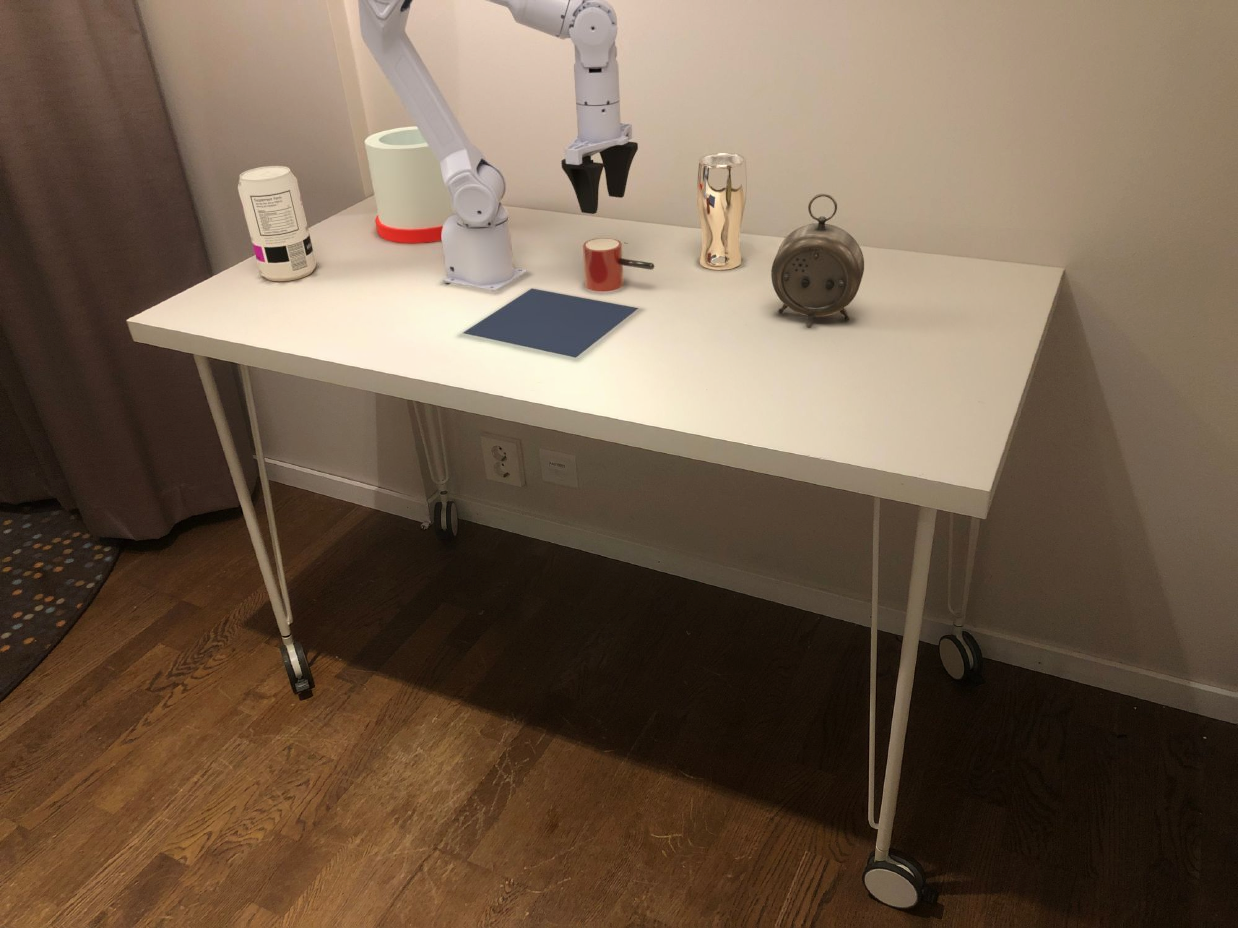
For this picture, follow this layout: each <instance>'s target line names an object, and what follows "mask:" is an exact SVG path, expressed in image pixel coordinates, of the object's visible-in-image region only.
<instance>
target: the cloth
mask: <svg viewBox="0 0 1238 928" xmlns="http://www.w3.org/2000/svg"><path fill="white" fill-rule="evenodd" d="M638 309H639V307H635V306H629V305H623V304H618V303H614V302H613V303H612V302H607V301H602V300H597V299H591V298H586V297H580V296H575V295H569V294H564V293H558V292H553V291H548V290H542V289H536V288H530V289H528V290H527V291H525V292H524V293H522V294H521V295H519V296H518V297H516V298H514V299H513V300H512V301H510V302H508V303H507V304H505V305H504V306H502V307H501V308H499V309H497V310H496V311H494V312H493V313H491V314H489V315H488V316H487V317H485V318H483V319H481V321H479V322H477V323H476V324H474V325H472V326H471V327H470V328H468V329H467V330H465V331H463V332H462V334H464V335H470V336H473V337H477V338H478V337H479V338H483V339H487V340H488V339H489V340H493V341H497V342H503V343H507V344H512V345H516V346H520V347H525V348H529V349H534V350H537V351H542V352H548V353H553V354H557V355H562V356H565V357H566V356H567V357H571V358H575V359H576V358H578V357H579V356H580V355H581V354H583V353H584V352H585V351H586V350H588V349H589V348H590V347H591V346H593V345H594V344H595V343H597V342H598V341H599V340H601V339H602V338H603V337H604V336H605V335H607V334H608V333H609V332H611V331H612V330H613V329H614V328H616V327H617V326H618V325H619V324H620V323H622V322H623V321H624V320H626V319H627V318H628V317H630V316H631V315H632V314H634V313H635V312H636V311H637V310H638Z"/></svg>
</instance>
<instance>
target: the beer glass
mask: <svg viewBox="0 0 1238 928" xmlns="http://www.w3.org/2000/svg"><path fill="white" fill-rule="evenodd" d="M747 176H748V175H747V158H746V157H745V156H744V155H743V154H739V153H733V152H716V153H708V154H704V155H702V156H701V157H699V158H698V167H697V178H696V179H697V180H696V202H697V209H698V216H699V221H700V227H701V234H702V235H701V236H702V245H701V251H700V257H699V264H700V266H701V267H703V268H705V269H709V270H714V271H727V270H732V269H735V268H738V267H739V266H740V265H741V264H742V254H741V249H740V247H741V246H740V233H741V228H742V222H743V218H744V214H745V209H746V201H747V193H748V192H747V191H748V190H747V189H748V178H747Z"/></svg>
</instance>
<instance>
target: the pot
mask: <svg viewBox="0 0 1238 928" xmlns="http://www.w3.org/2000/svg"><path fill="white" fill-rule="evenodd" d="M582 256H583V257H582V258H583V270H584V271H583V272H584V285H585V288H586V289H588V290H590V291H593V292H612V291H615V290H618V289H620V288H622V287H623V286H624V285H625V284H624V281H625V280H624V266H626V267H633V268H638V269H644V270H645V269H646V270H648V271H649V270H650V271H652V270H654V269H655V264H654V263H653V262H648V261H642V260H637V259H629V258H624V257H623V243H622V242H621V240H618V239H615V238H611V237H610V238H609V237H599V238H598V237H597V238H592V239H590V240H587V241H585V242H583V244H582Z"/></svg>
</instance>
